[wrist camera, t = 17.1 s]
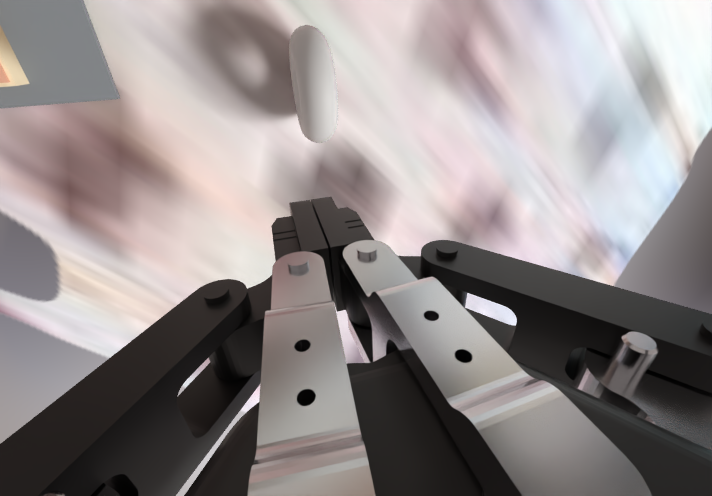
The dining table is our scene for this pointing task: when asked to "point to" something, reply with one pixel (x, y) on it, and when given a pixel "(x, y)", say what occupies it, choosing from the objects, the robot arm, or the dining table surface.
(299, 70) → the donut
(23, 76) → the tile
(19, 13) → the mat
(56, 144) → the dining table surface
